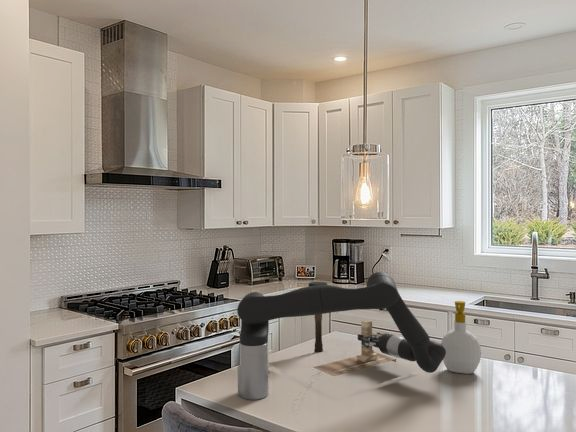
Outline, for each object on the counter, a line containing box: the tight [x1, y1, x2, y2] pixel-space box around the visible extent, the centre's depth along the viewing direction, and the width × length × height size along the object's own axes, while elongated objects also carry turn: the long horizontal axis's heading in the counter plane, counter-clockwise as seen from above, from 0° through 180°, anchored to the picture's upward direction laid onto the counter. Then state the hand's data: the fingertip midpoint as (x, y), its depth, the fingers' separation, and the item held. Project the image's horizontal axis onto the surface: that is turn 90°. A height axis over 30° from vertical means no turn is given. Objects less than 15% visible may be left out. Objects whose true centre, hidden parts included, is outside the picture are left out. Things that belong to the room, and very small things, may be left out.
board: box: [313, 351, 397, 377], centre depth 183 cm, size 32×12×2 cm, turn 125°
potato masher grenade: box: [308, 281, 328, 354], centre depth 200 cm, size 8×9×30 cm
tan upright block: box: [356, 319, 377, 362], centre depth 187 cm, size 7×4×15 cm, turn 125°
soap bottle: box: [440, 300, 482, 375], centre depth 176 cm, size 14×9×26 cm, turn 66°
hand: (361, 336), depth 189 cm, fingers closed on tan upright block, 3 cm apart
